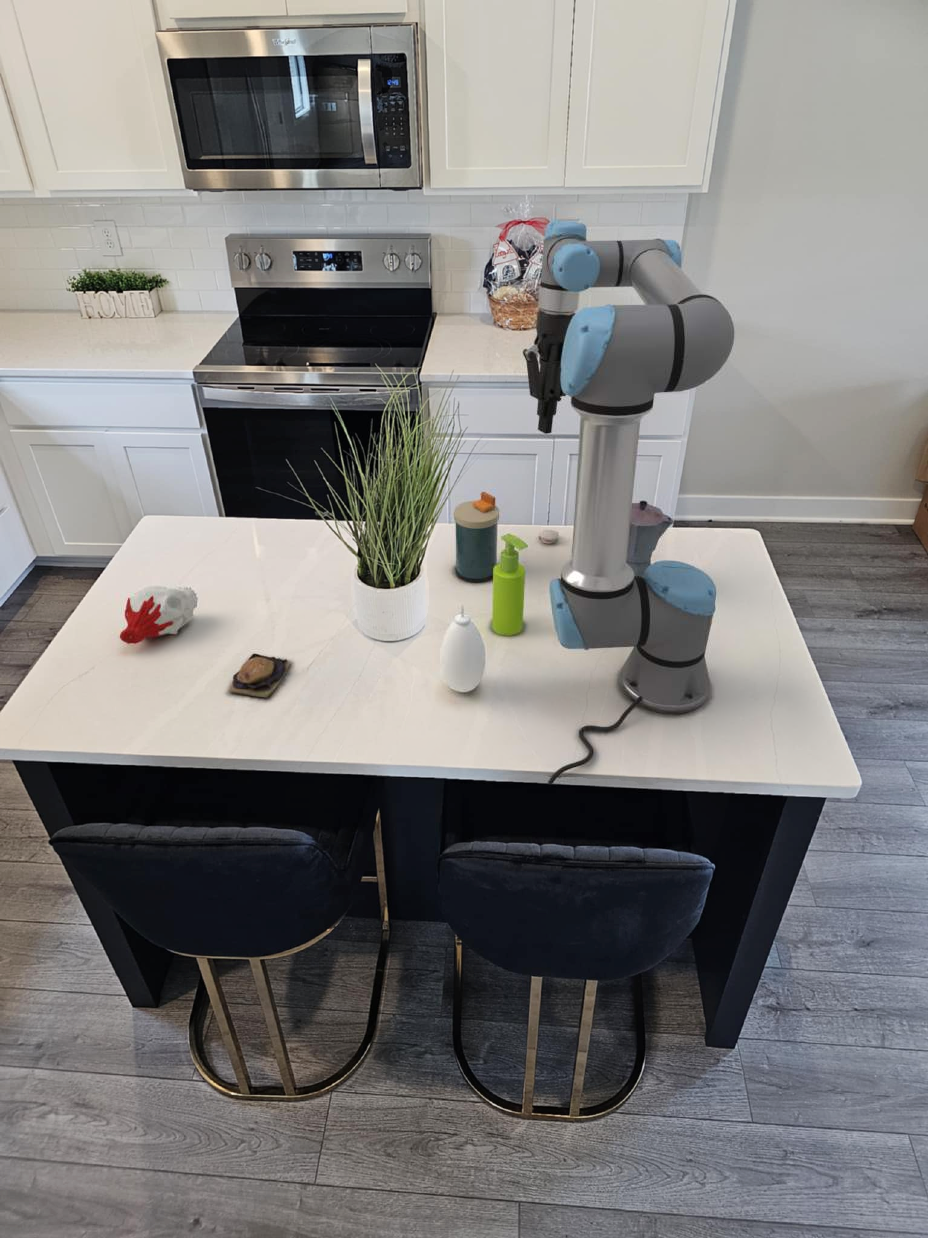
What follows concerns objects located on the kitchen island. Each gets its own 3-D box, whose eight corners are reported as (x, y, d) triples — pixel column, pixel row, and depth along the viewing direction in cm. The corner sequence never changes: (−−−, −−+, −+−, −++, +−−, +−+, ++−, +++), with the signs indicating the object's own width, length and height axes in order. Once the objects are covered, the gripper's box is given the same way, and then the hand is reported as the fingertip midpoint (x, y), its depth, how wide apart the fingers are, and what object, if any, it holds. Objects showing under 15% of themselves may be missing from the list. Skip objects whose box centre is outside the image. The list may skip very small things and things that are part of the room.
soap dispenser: (509, 642, 160) (512, 550, 149) (486, 625, 165) (487, 535, 153) (532, 630, 163) (537, 540, 152) (508, 614, 168) (511, 525, 156)
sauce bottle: (490, 678, 152) (491, 595, 141) (478, 706, 145) (478, 621, 135) (448, 670, 153) (446, 587, 143) (434, 698, 147) (432, 613, 137)
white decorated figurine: (205, 613, 168) (162, 665, 157) (156, 602, 171) (111, 652, 160) (193, 578, 162) (148, 629, 151) (143, 567, 165) (95, 617, 154)
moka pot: (662, 603, 170) (676, 515, 159) (585, 595, 173) (594, 508, 161) (663, 578, 178) (676, 492, 166) (589, 571, 181) (597, 486, 169)
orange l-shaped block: (483, 501, 175) (483, 491, 174) (495, 507, 173) (495, 497, 172) (472, 505, 174) (472, 495, 172) (484, 512, 171) (484, 501, 170)
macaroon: (534, 540, 191) (535, 530, 190) (551, 533, 194) (551, 523, 192) (547, 547, 189) (548, 537, 187) (564, 540, 191) (564, 530, 190)
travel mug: (478, 555, 186) (478, 496, 178) (506, 572, 180) (508, 511, 172) (445, 570, 181) (444, 509, 173) (474, 588, 176) (474, 526, 167)
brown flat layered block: (269, 701, 147) (266, 684, 145) (225, 693, 149) (221, 676, 147) (294, 663, 155) (292, 647, 153) (252, 656, 157) (249, 640, 155)
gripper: (573, 305, 167) (559, 422, 179) (517, 308, 161) (507, 429, 173) (596, 312, 161) (581, 433, 173) (540, 316, 155) (528, 440, 168)
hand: (544, 431), depth 173 cm, fingers closed
